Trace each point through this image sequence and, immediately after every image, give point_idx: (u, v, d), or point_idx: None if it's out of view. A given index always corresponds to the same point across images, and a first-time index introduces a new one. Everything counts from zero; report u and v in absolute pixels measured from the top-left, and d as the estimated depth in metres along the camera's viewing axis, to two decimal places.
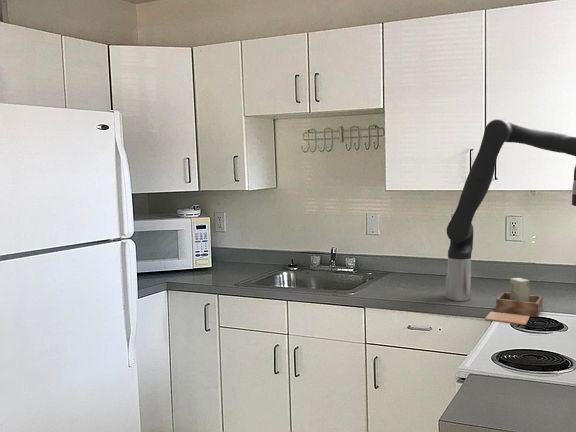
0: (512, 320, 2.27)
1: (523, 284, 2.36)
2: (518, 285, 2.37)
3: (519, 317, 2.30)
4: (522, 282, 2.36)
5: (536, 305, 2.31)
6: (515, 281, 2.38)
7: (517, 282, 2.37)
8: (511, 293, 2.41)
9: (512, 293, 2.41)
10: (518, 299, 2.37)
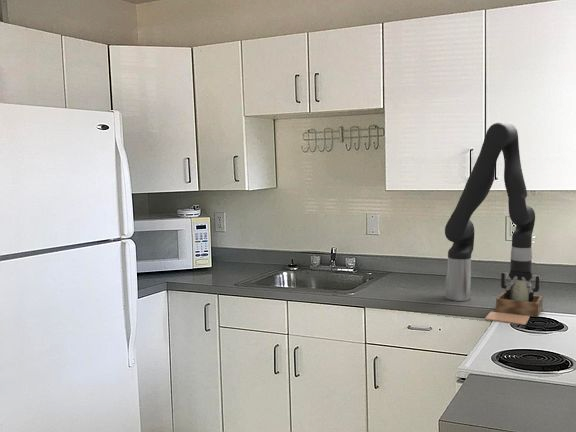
0: (512, 320, 2.27)
1: (523, 284, 2.36)
2: (518, 285, 2.37)
3: (519, 317, 2.30)
4: (522, 282, 2.36)
5: (536, 305, 2.31)
6: (515, 281, 2.38)
7: (517, 282, 2.37)
8: (511, 293, 2.41)
9: (512, 293, 2.41)
10: (518, 299, 2.37)
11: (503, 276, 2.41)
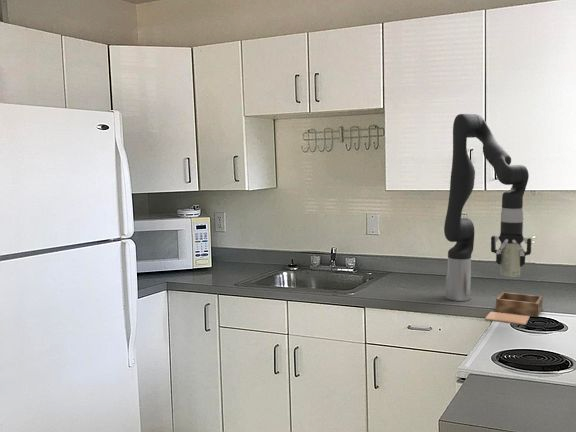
0: (512, 320, 2.27)
1: (514, 247, 2.24)
2: (509, 248, 2.25)
3: (519, 317, 2.30)
4: (513, 245, 2.24)
5: (536, 305, 2.31)
6: (506, 244, 2.26)
7: (508, 245, 2.25)
8: (501, 257, 2.29)
9: (502, 257, 2.29)
10: (509, 263, 2.25)
11: (493, 239, 2.29)
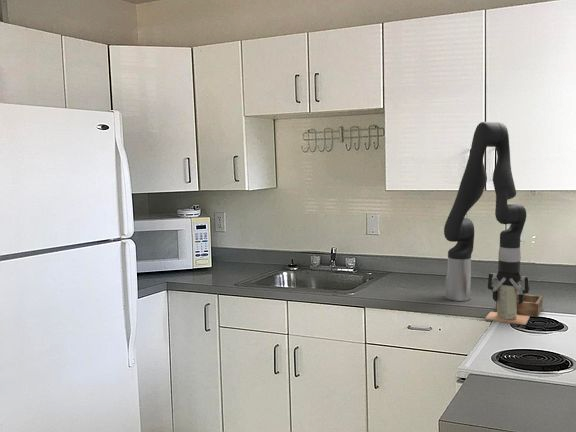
0: (512, 320, 2.27)
1: (510, 290, 2.26)
2: (505, 291, 2.27)
3: (519, 317, 2.30)
4: (509, 288, 2.26)
5: (536, 305, 2.31)
6: (502, 287, 2.28)
7: (504, 288, 2.27)
8: (498, 299, 2.31)
9: (499, 299, 2.31)
10: (505, 305, 2.27)
11: (490, 277, 2.30)
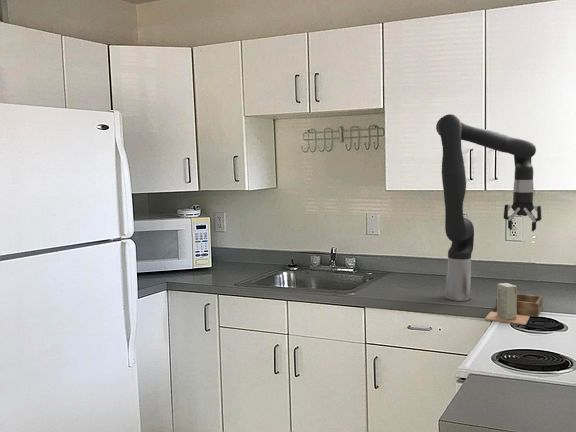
0: (512, 320, 2.27)
1: (510, 290, 2.26)
2: (505, 291, 2.27)
3: (519, 317, 2.30)
4: (509, 288, 2.26)
5: (536, 305, 2.31)
6: (502, 287, 2.28)
7: (504, 288, 2.27)
8: (498, 299, 2.31)
9: (499, 299, 2.31)
10: (505, 305, 2.27)
11: (506, 208, 2.55)
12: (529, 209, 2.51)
